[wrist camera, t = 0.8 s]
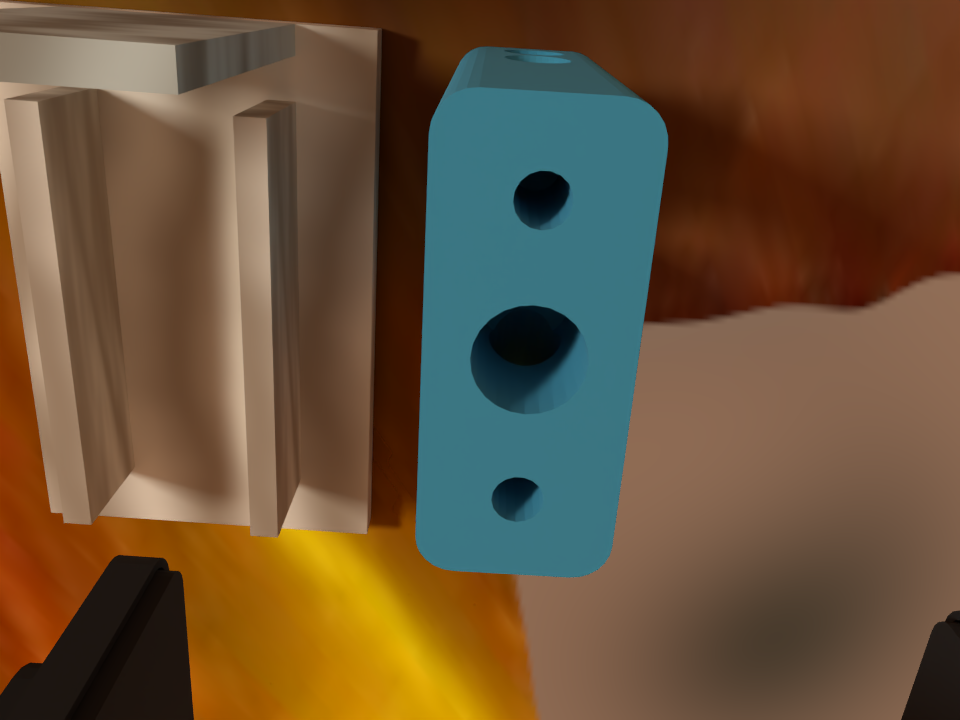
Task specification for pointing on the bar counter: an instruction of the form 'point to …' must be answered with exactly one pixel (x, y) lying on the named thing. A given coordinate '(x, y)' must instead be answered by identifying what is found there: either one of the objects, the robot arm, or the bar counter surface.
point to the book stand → (196, 261)
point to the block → (532, 309)
